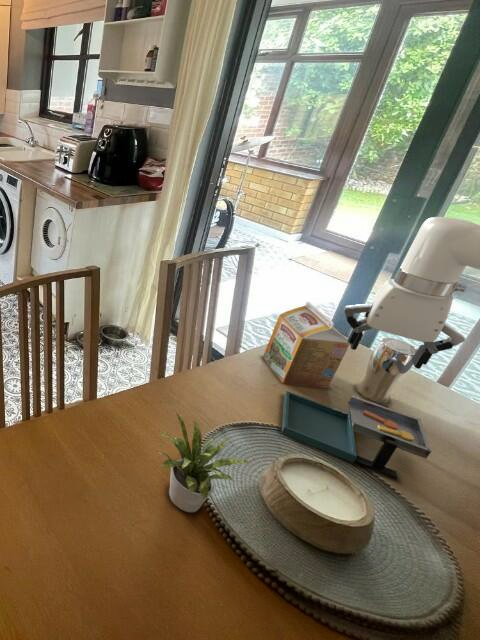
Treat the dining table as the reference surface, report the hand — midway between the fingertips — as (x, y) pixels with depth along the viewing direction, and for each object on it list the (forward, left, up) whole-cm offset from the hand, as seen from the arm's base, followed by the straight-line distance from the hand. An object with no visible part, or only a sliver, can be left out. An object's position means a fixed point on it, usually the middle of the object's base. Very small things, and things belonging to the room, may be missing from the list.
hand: (382, 355), depth 84 cm
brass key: (-6, +5, -14) cm, 16 cm away
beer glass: (-6, -18, -20) cm, 28 cm away
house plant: (+27, +41, -20) cm, 53 cm away
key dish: (-4, +4, -14) cm, 15 cm away
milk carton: (+10, -16, -20) cm, 28 cm away
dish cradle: (-4, +4, -20) cm, 21 cm away
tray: (+5, +4, -20) cm, 21 cm away
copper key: (-4, +2, -14) cm, 15 cm away
